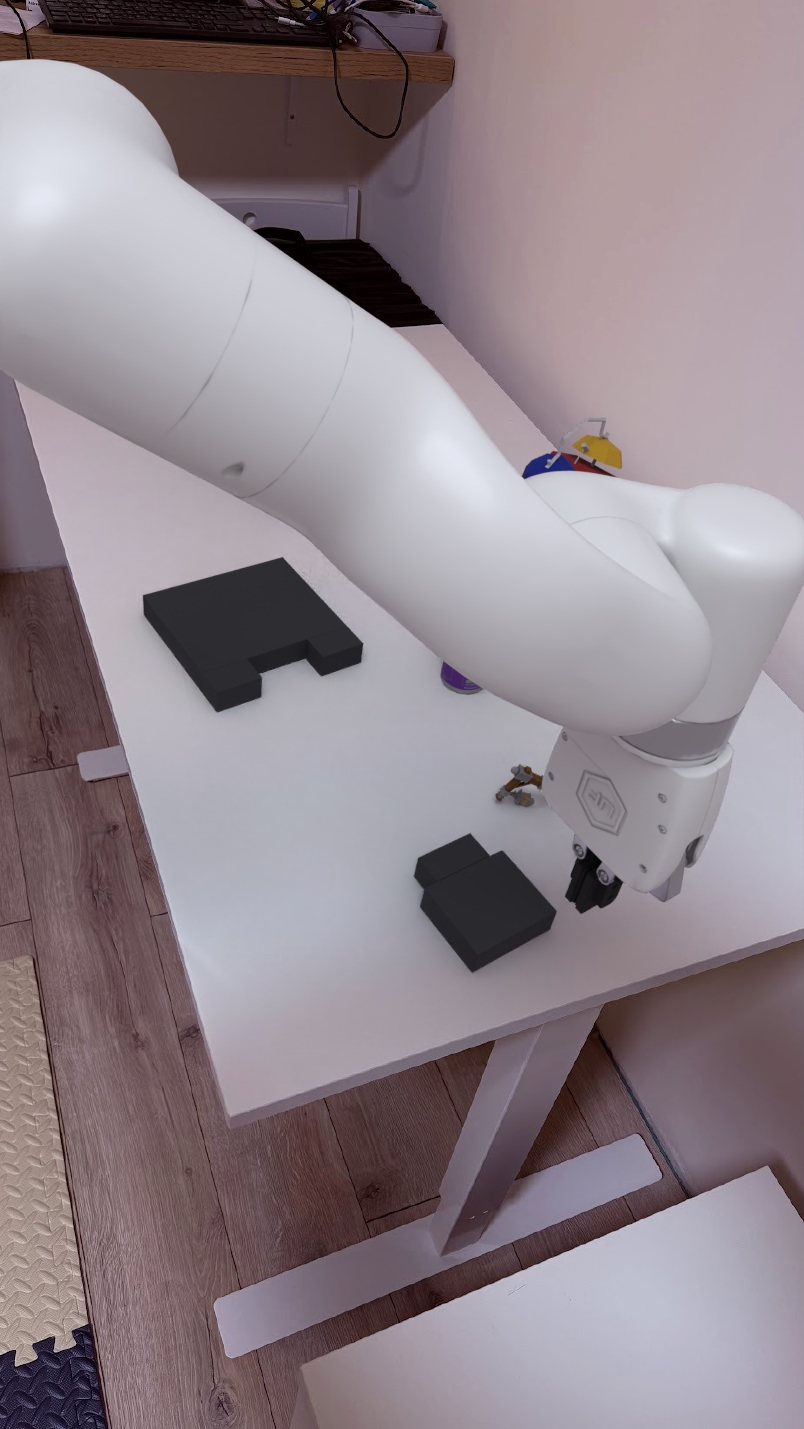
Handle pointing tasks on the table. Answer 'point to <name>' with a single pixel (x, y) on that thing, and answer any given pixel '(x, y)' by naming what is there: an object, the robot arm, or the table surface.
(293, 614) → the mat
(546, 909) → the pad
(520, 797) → the brown jointed two-tone fixture
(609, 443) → the alarm clock
